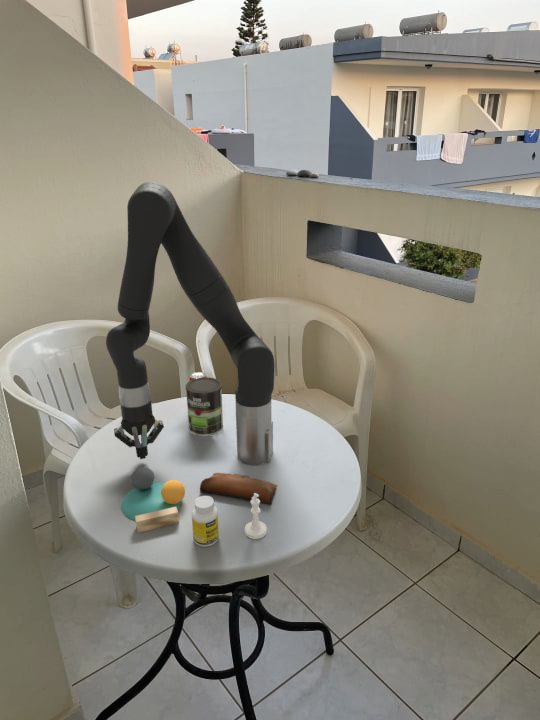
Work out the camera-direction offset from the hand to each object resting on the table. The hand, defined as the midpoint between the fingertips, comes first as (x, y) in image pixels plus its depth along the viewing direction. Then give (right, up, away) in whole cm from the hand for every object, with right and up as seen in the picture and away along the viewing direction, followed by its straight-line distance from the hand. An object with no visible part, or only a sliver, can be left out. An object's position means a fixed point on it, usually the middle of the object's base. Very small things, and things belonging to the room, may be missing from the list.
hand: (142, 457), depth 133 cm
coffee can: (+15, +5, +17) cm, 23 cm away
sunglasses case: (+26, -7, -9) cm, 29 cm away
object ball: (+11, -5, -15) cm, 19 cm away
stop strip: (+9, -11, -21) cm, 26 cm away
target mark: (+6, -8, -14) cm, 17 cm away
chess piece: (+30, -12, -23) cm, 40 cm away
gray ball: (+3, -3, -10) cm, 11 cm away
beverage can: (+11, +10, +27) cm, 31 cm away
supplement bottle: (+20, -13, -25) cm, 34 cm away
